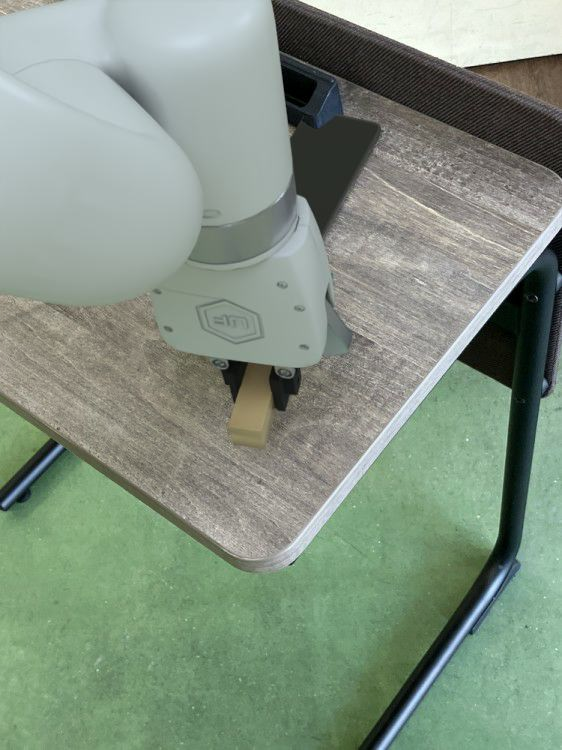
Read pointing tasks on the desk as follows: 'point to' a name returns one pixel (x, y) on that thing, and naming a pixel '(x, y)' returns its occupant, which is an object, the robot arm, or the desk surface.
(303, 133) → the smartphone
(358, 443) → the desk surface
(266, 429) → the spatula
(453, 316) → the desk surface
